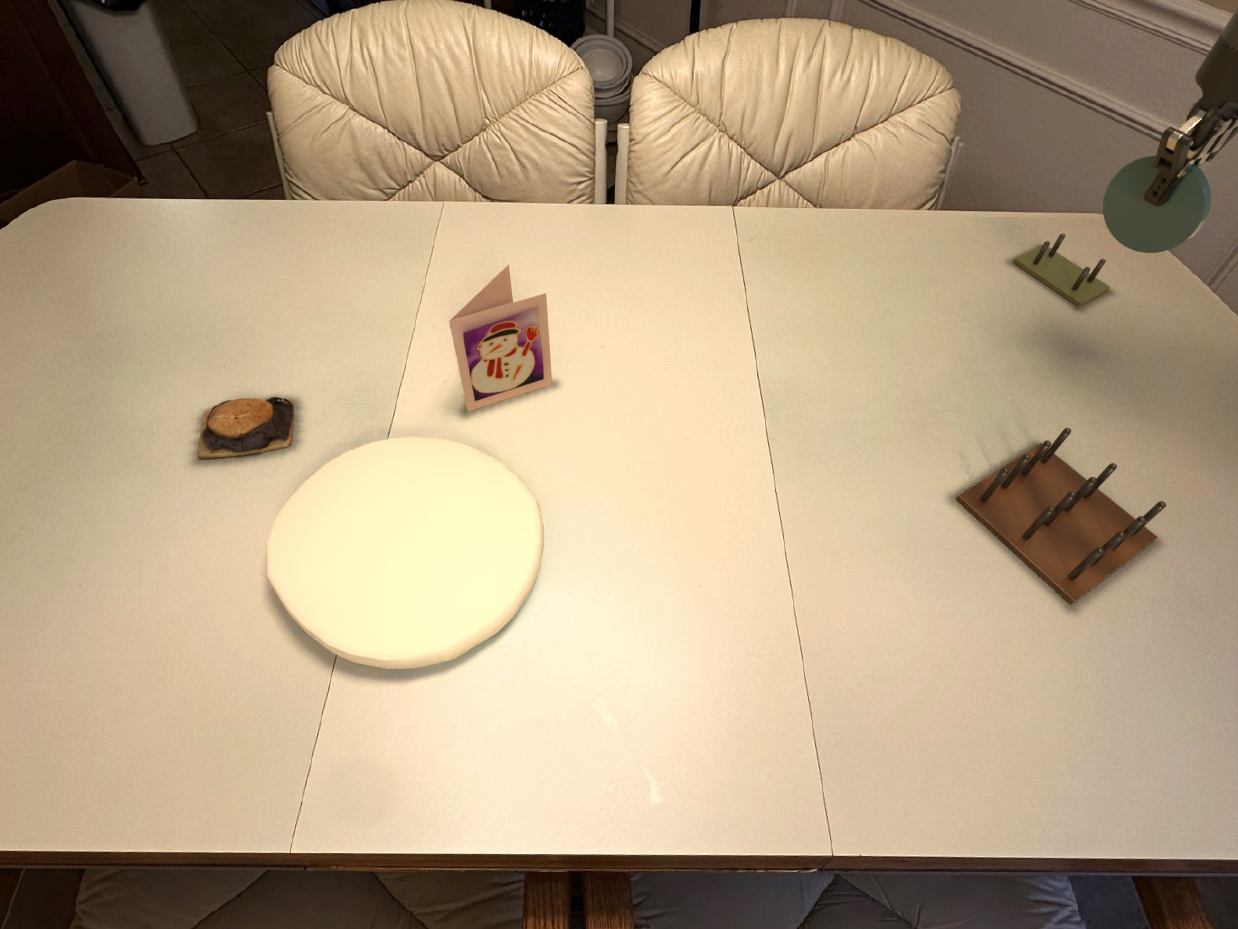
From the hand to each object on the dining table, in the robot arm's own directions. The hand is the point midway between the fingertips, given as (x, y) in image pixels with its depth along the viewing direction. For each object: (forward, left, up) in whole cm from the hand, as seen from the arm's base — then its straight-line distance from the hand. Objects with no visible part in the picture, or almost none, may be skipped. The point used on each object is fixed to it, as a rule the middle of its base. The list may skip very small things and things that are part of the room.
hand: (1157, 199), depth 85 cm
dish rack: (+25, +18, -23) cm, 39 cm away
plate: (+89, -16, -23) cm, 93 cm away
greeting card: (+69, -34, -23) cm, 80 cm away
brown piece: (+99, -43, -23) cm, 110 cm away
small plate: (0, 0, -6) cm, 6 cm away
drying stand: (-13, -10, -23) cm, 28 cm away
